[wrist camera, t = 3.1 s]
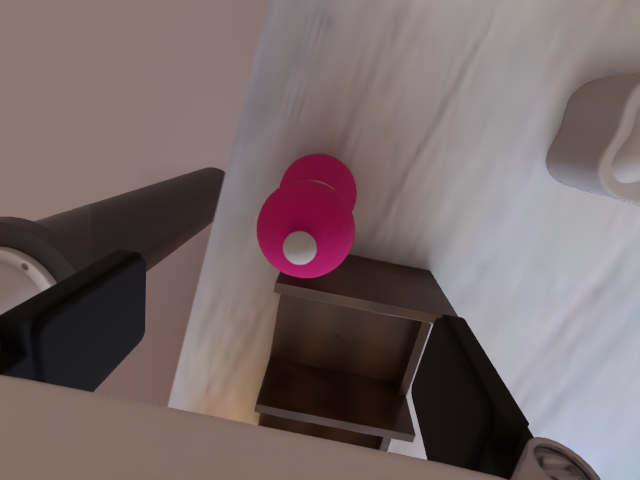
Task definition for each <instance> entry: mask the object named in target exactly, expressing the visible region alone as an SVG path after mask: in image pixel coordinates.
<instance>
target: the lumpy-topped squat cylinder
mask: <svg viewBox="0 0 640 480" xmlns="http://www.w3.org/2000/svg"><path fill="white" fill-rule="evenodd" d="M546 164H547V168H548V171H549V173H550V174H551V175H552V177H553V178H554V179H555V180H557V181H558V182H560V183H562V184H564V185H567V186H570V187H574V188H577V189H580V190H583V191H587V192H591V193H595V194H598V195H602V196H606V197H610V198H613V199H617V200H621V201H624V202H628V203H632V204H635V205H639V206H640V72H638V73H632V74H626V75H621V76H615V77H609V78H604V79H598V80H595V81H592V82H589V83H587V84H585V85H584V86H582V87H581V88H579V89H578V90H577V91H576V92H575V93H574V94H573V95H572V97H571V98H570V100H569V102H568V105H567V107H566V111H565V115H564V119H563V123H562V126H561V128H560V131H559V133H558V135H557V136H556V138H555V140H554V142H553V143H552V145H551V147H550V149H549V151H548V154H547V159H546Z"/></svg>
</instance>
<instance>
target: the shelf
mask: <svg viewBox="0 0 640 480" xmlns="http://www.w3.org/2000/svg"><path fill="white" fill-rule="evenodd" d="M274 292H276V293H281V295H280V301H279V307H278V313H277V319H276V325H275V331H274V337H273V343H272V348H271V354H270V359H269V362H268V366H267V369H266V372H265V376H264V379H263V382H262V386H261V389H260V392H259V395H258V399H257V402H256V406H255V412H258V413H260V419H259V425H258V426H263V427H268V428H273V429H278V430H283V431H288V432H293V433H298V434H303V435H308V436H313V437H318V438H323V439H328V440H333V441H338V442H343V443H347V444H352V445H357V446H362V447H367V448H372V449H376V450H381V451H386V452H387V450H388V447H389V444H390V441H391V438H392V439H397V440H402V441H407V442H413V440H414V438H415V432H414V428H413V423H412V419H411V415H410V411H409V407H408V403H407V399H406V395H407V393H408V390H409V387H410V384H411V381H412V378H413V375H414V372H415V370H416V367H417V364H418V361H419V358H420V355H421V352H422V349H423V347H424V344H425V341H426V338H427V335H428V332H429V329H430V327H431V324H432V323H433V324H434V322H435V320H436V318H441V317H442V316H443V315H444V314H446V315H451V316H456V317H458V315H457V314H456V312H455V311H454V309H453V307H452V306H451V304H450V303H449V301H448V299H447V298H446V296H445V294H444V293H443V291H442V289H441V288H440V286H439V284H438V283H437V281H436V280H435V278H434V276H433V275H432V273H431V271H428V270H423V269H418V268H413V267H408V266H403V265H398V264H393V263H388V262H383V261H378V260H373V259H368V258H363V257H358V256H353V255H347V257H346V258H345V259H344V260H343V262H342V263H341V264H340V265H339V266H337V267H336V268H335V269H334V270H332V271H330V272H329V273H327V274H324V275H322V276H319V277H314V278H299V277H294V276H291V275H288V274H285V273H283V272H281V271H280V273H279V275H278V278H277V280H276V283H275V289H274Z"/></svg>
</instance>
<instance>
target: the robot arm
mask: <svg viewBox="0 0 640 480" xmlns="http://www.w3.org/2000/svg"><path fill="white" fill-rule="evenodd" d="M145 291H146V261H145V259H144V258H142V257H141V254H140V253H138V252H133V251H128V250H123V249H118V250H116V251H114V252H113V253H111V254H109V255H107V256H105V257H104V258H102V259H100V260H98V261H96V262H95V263H93V264H91V265H89V266H87V267H85V268H84V269H82V270H80V271H78V272H76V273H75V274H73V275H71V276H69V277H67V278H66V279H64V280H62V281H60V282H58V283H57V282H56V281H55V279H54V278H53V276H52V275H51V274H50V273H49V272H48V270H47V269H46V268H45V267H44V266H42V265H41V264H40V263H39V262H38V261H36V260H35V259H33V258H32V257H30V256H29V255H27V254H25V253H23V252H21V251H18V250H16V249H12V248H9V247H2V246H0V480H600V478H599V476H598V475H597V474H596V472H595V471H594V470H593V469H592V467H591V466H590V465H589V464H588V463H587V462H585V461H584V460H583V459H582V458H581V457H580V456H579V455H577V454H576V453H575V452H573V451H572V450H571V449H569V448H567V447H566V446H564V445H562V444H560V443H558V442H556V441H553V440H550V439H548V438H541V437H536V438H534V437H533V435H532V434H531V432H530V430H529V429H528V425H529V423H528V421H527V420H526V418H525V416H524V415H523V413H522V411H521V410H520V408H519V407H518V405H517V403H516V402H515V400H514V399H513V397H512V395H511V394H510V392H509V390H508V389H507V387H506V386H505V384H504V382H503V381H502V379H501V378H500V376H499V374H498V373H497V371H496V369H495V368H494V366H493V365H492V363H491V361H490V360H489V358H488V356H487V355H486V353H485V352H484V350H483V348H482V347H481V345H480V344H479V342H478V340H477V339H476V337H475V335H474V334H473V332H472V331H471V329H470V327H469V326H468V324H467V323H466V321H465V319H464V318H461V317H456V316H451V315H446V314H444V315H443V316H442V317H441V318H436V320H435V322H434V324H433V327H432V330H431V333H430V336H429V339H428V341H427V344H426V347H425V350H424V353H423V356H422V358H421V361H420V364H419V367H418V370H417V373H416V375H415V378H414V381H413V384H412V391H411V393H412V399H413V403H414V407H415V411H416V415H417V419H418V423H419V427H420V431H421V435H422V439H423V443H424V447H425V451H426V455H427V459H428V460H424V459H420V458H415V457H410V456H405V455H400V454H396V453H391V452H386V451H381V450H376V449H372V448H367V447H362V446H357V445H352V444H347V443H343V442H338V441H333V440H328V439H323V438H318V437H313V436H308V435H303V434H298V433H293V432H288V431H283V430H278V429H273V428H268V427H263V426H258V425H253V424H249V423H244V422H239V421H234V420H229V419H224V418H219V417H214V416H209V415H204V414H199V413H194V412H189V411H184V410H179V409H174V408H169V407H164V406H160V405H154V404H150V403H144V402H140V401H135V400H130V399H125V398H120V397H114V396H109V395H104V394H99V393H94V391H95V389H96V388H97V387H98V386H99V385H100V384H101V383H102V382H103V381H104V380H105V379H106V378H107V377H108V376H109V374H110V373H111V372H112V371H113V370H114V369H115V368H116V367H117V366H118V365H119V364H120V363H121V362H122V361H123V360H124V358H125V357H126V356H127V355H128V354H129V353H130V352H131V351H132V350H133V349H134V347H136V346H137V345H138V343H139V342H140V341H141V340H142V338H143V336H144V332H145V297H146V296H145V294H146V292H145Z"/></svg>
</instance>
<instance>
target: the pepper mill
mask: <svg viewBox="0 0 640 480" xmlns="http://www.w3.org/2000/svg"><path fill="white" fill-rule="evenodd" d="M356 193H357V191H356V184H355V181H354V178H353V176H352V174H351V172H350V171H349V169H348V168H347V167H346V166H345V165H344V164H343V163H342V162H341V161H339V160H337V159H336V158H333V157H331V156H328V155H323V154H313V155H308V156H305V157H302V158H300V159H298V160H297V161H295V162H294V163H293V164H292V165H291V166H290V167H289V168H288V169H287V171H286V172H285V174H284V176H283V178H282V181H281V184H280V188H278V189H277V190H276V191H274V192H273V193H272V194H271V195H270V196H269V197H268V199H267V200H266V201H265V203H264V205H263V206H262V209H261V211H260V214H259V217H258V221H257V238H258V242H259V245H260V248H261V250H262V252H263V254H264V256H265V257H266V258H267V260H268V261H269V262H270V263H271V264H272V265H273V266H274V267H275V268H277V269H278V270H280V271H281V272H283V273H285V274H288V275H291V276H294V277H299V278H314V277H319V276H322V275H324V274H327V273H329V272H330V271H332V270H334V269H335V268H336V267H337V266H339V265H340V264H341V263H342V262H343V260H344V259H345V258H346V257H347V255H348V253H349V251H350V249H351V247H352V244H353V240H354V234H355V224H354V218H353V215H352V210H353V208H354V205H355V202H356Z"/></svg>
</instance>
